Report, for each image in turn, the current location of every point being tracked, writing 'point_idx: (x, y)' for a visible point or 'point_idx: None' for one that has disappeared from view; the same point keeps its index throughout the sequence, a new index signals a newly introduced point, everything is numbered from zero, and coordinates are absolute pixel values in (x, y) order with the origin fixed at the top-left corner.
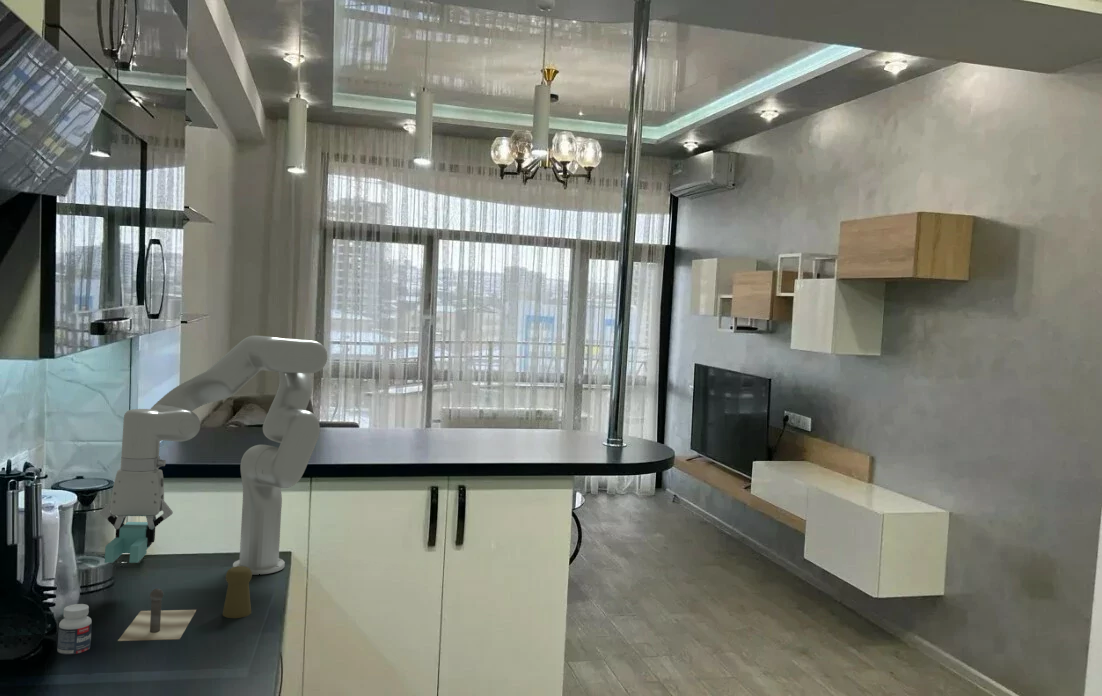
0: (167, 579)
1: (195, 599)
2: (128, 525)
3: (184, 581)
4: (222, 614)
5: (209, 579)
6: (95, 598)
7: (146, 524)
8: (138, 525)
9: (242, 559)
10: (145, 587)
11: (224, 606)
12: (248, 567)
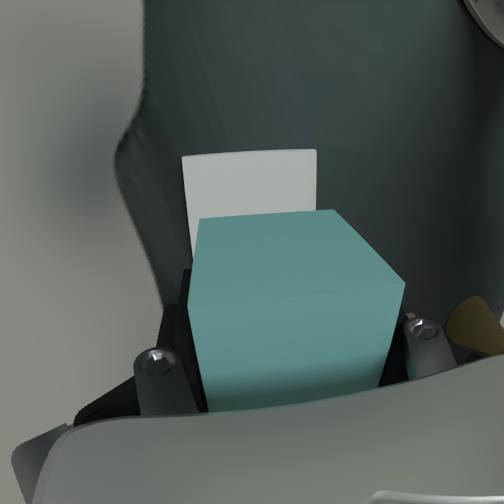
0: (305, 24)
1: (412, 216)
2: (245, 400)
3: (363, 50)
4: (451, 332)
5: (423, 46)
6: (144, 210)
7: (370, 354)
8: (317, 388)
9: (497, 3)
10: (258, 101)
11: (461, 344)
12: (499, 23)
